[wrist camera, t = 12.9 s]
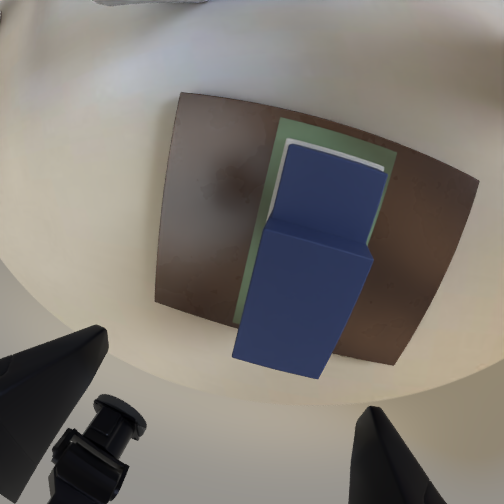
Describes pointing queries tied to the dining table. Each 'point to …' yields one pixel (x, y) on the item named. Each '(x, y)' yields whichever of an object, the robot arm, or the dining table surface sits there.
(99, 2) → the vase
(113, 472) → the robot arm
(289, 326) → the blue stepped block
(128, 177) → the dining table surface
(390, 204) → the brown flat slab
